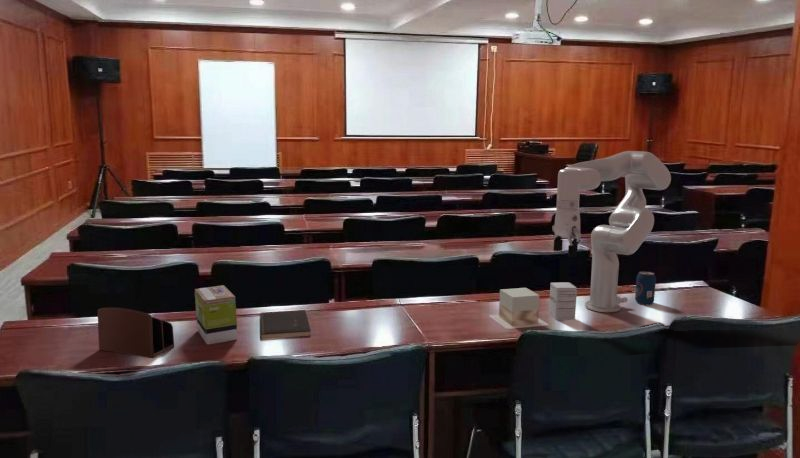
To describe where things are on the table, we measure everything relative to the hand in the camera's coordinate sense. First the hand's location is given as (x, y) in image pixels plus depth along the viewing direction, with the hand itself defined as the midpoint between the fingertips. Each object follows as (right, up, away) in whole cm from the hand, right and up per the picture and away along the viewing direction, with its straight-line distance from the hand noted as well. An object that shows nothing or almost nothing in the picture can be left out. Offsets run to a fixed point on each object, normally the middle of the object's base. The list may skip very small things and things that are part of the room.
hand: (564, 253), depth 216 cm
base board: (-16, -24, 0) cm, 29 cm away
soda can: (+38, -20, +25) cm, 50 cm away
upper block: (-16, -18, -1) cm, 25 cm away
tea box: (-117, -26, -15) cm, 121 cm away
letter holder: (-138, -28, -27) cm, 143 cm away
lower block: (-16, -23, -1) cm, 28 cm away
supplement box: (0, -24, +4) cm, 24 cm away
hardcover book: (-97, -25, -5) cm, 100 cm away
